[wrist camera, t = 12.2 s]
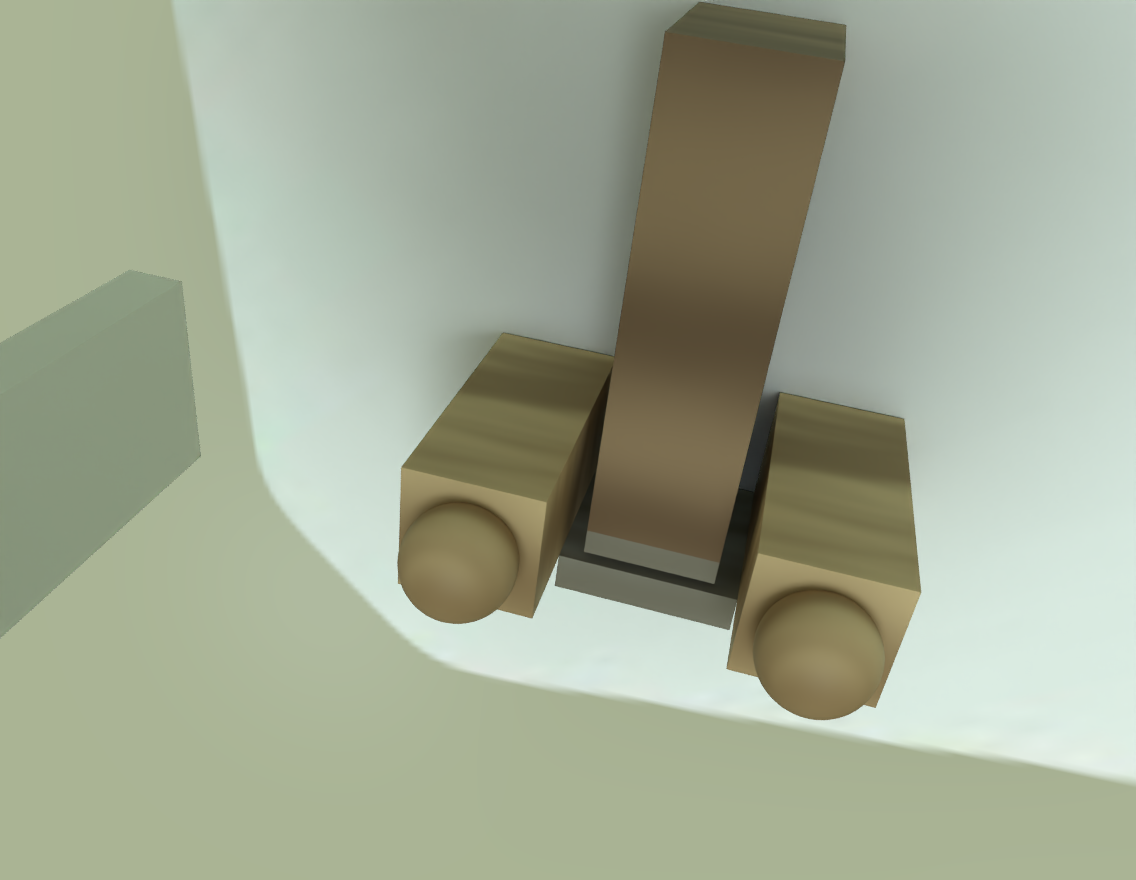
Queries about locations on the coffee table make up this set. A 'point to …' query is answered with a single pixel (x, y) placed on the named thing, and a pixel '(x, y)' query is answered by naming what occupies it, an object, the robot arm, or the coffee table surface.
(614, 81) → the coffee table surface
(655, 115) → the rail
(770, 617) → the knobbed wooden twin blocks
